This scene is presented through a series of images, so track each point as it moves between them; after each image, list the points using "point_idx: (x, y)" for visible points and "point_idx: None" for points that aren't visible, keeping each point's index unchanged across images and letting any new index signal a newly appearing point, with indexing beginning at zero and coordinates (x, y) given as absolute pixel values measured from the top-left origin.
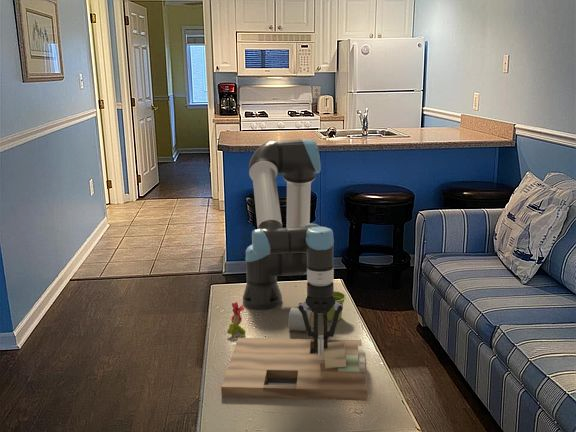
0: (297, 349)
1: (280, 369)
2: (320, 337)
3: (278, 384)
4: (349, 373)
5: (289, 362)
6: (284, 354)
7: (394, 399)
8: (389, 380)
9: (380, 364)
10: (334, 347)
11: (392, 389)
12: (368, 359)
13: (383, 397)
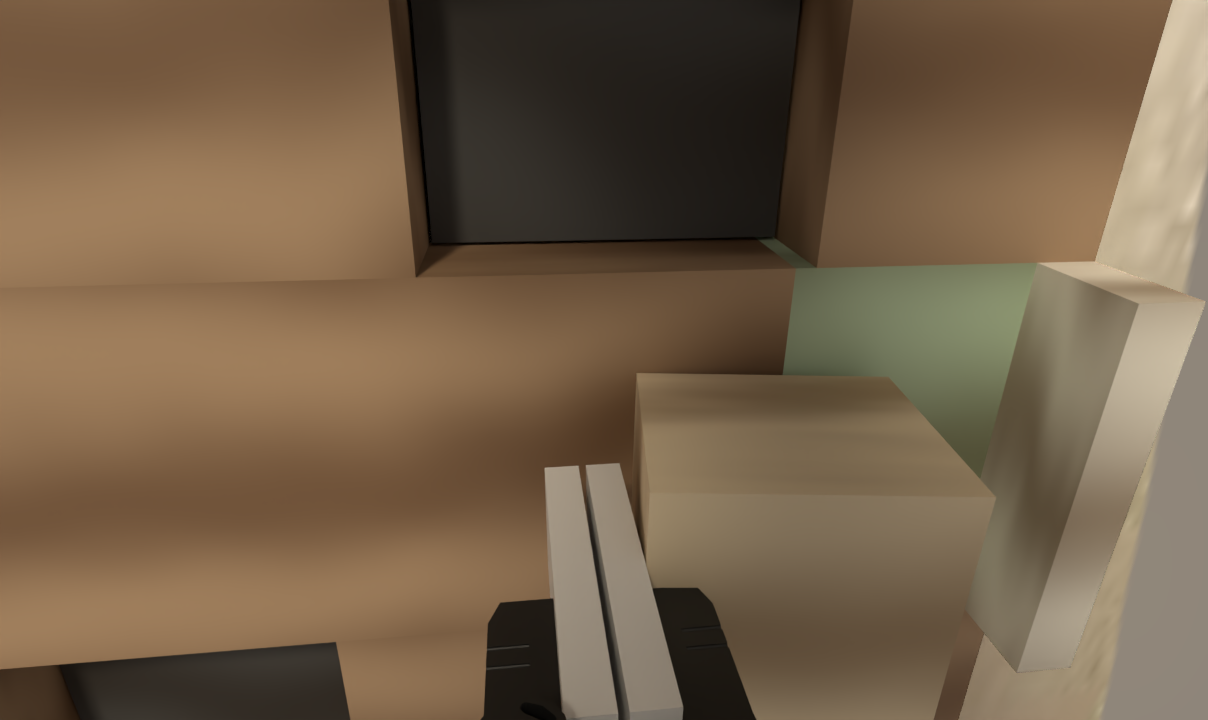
0: (198, 160)
1: (127, 649)
2: (613, 701)
3: (188, 674)
4: None
5: (187, 509)
6: (40, 325)
7: (1071, 692)
8: (1138, 490)
9: (1180, 233)
10: (805, 648)
11: (1107, 595)
12: None
13: (1009, 683)
